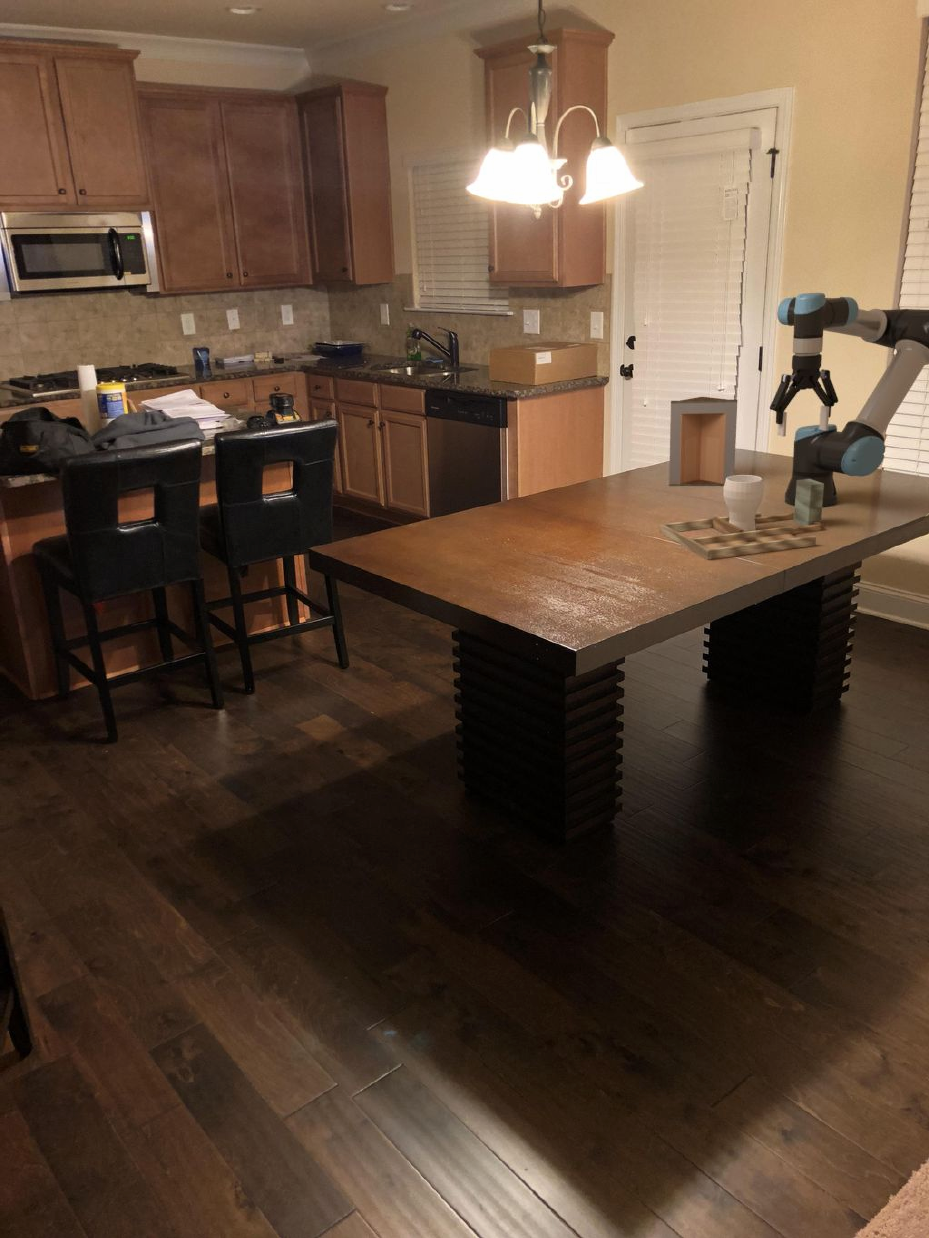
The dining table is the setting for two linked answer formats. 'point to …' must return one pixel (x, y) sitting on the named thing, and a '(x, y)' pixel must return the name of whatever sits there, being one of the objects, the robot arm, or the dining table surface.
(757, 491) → the cup
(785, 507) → the dining table surface
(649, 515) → the dining table surface
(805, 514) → the rail with green post
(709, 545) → the lane rails
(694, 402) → the cabinet
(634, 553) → the dining table surface
